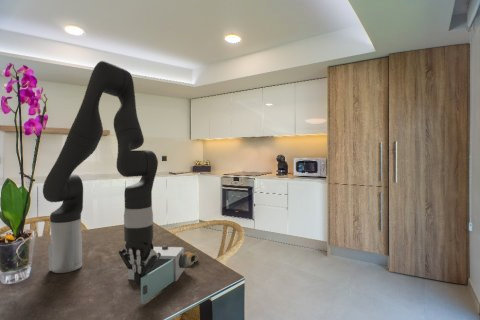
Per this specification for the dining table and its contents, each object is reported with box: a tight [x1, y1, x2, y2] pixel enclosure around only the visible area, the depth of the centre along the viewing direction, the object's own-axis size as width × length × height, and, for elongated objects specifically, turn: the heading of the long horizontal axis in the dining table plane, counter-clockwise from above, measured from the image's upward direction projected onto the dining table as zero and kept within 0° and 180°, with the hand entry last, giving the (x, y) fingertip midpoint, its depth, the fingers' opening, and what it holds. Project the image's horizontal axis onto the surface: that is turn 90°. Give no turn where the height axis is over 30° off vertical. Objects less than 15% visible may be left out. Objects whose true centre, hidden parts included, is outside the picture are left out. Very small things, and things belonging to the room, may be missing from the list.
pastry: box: [184, 251, 199, 267], centre depth 106 cm, size 9×7×4 cm
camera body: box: [127, 244, 188, 282], centre depth 95 cm, size 18×8×9 cm, turn 84°
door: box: [140, 258, 177, 304], centre depth 83 cm, size 15×1×7 cm, turn 158°
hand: (140, 284), depth 79 cm, fingers closed
